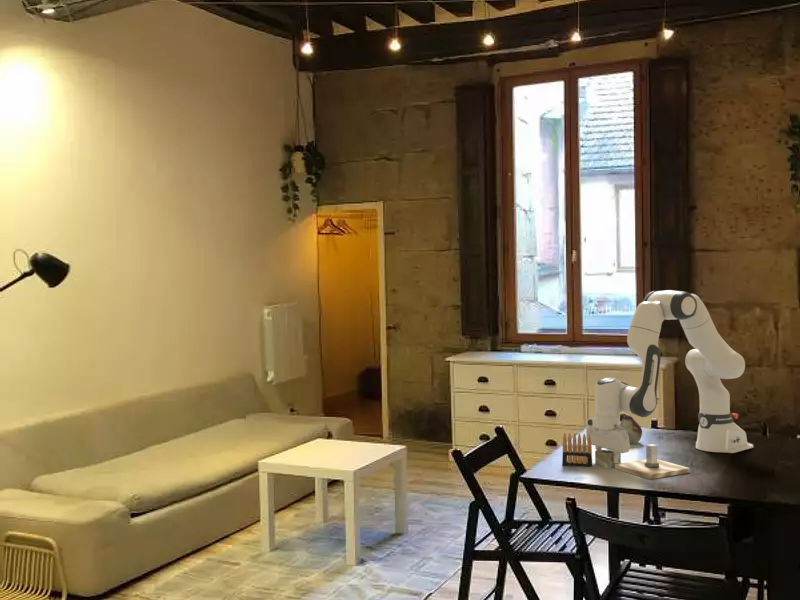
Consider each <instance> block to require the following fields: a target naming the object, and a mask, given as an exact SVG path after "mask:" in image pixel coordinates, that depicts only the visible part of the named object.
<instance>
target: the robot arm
mask: <svg viewBox="0 0 800 600" xmlns="http://www.w3.org/2000/svg"><path fill="white" fill-rule="evenodd" d="M665 320H668V321H670V320H678V321H679V323H680V326H681V327H682V330H683V331H684V335H685V337H686V339H687V341H688V343H689V344H690V345H691V346H692V347H693V349H690V350H689V351H688V352H687V353H686V355H685V359H684V360H685V361H684V362H685V363H684V364H685V366H686V369H687V370H688V371H689V372H690V373H691V375H692V376H693V378H694V381H695V383H696V386H697V390H698V396H699V397H698V398H699V412H698V422H699V424H698V429H697V437H696V442H695V448H696V449H697V450H700V451H704V452H710V453H711V452H712V453H726V454H727V453H728V454H734V453H735V454H736V453H739V452H742V451H746V450H749V449H753V448H754V444H753V443H750V442H748V439H747V437H748V436H747V432H746V431H745V430H744V429H743V428H741V427H740V426H739V425H737V424H736V423H735V422H734V419H736V420H737V419H738V413H734V412H732V413H731V409H730V408H731V401H730V400H731V399H730V398H731V395H730V392H729V391H728V389H727V388H726V387H725V386H724V384H723V382H722V380H723V379H724V380H730V379H731V380H732V379H737V378H739V377H741V376H742V375H743V374H744V372H745V369H746V362H745V359H744V357H743V356H742V355H741V354H740V353H738V352H737V351H735V350H734V349H733V348H732V347H730V345H729V344H727V342H726V341H725V340H724V339H723V337H722V336H721V334H720V333H719V332H718V331H717V328H716V326H715V324H714V321H713V319H712V317H711V315H710V312H709V310H708V309H707V307H706V305H705V304H704V302H703V300H702V299H701V298H700V297H699V296H698V295H697V294H695V293H690V292H688V291H683V290H672V289H667V290H653V291H650V292H648V293H647V294H646V295H645V297H644V298H643V300H642V302H640V303H639V304H638V305H637V307H636V309H635V311H634V313H633V316H632V318H631V321H630V325H629V328H628V332H627V339H626V342H627V346H628V347H629V349H630V350H631V351H632V352H633V353H634V354H635V355H637V356H638V357H639V359H640V360H641V364H642V367H641V374H640V382H639V386H638V387H636V386H633V385H632V386H631V385H628V384H625V383H622V382H621V381H620V380H618V378H615V377H605V378H600V379H599V380H597V382H596V383H595V384H596V385H595V389H594V405H595V413H594V417H591V418H587V419H586V420H585V424H586V425H587V426H586V429H585V432H586V433H585V436H586V443H587V442H588V435H589V434H590V437H591V446H595V448H594V449H595V451H598V450H603V449H604V450H605V449H609V450H612V451H614V454H615V455H614V457H613V458H612V462H613V463H618V458H619V456H620V454H625V453H628V452H630V450H631V443H629V436H628V432H627V430H626V429H625V427H622V426H620V423H621V414H620V413H621V412H625V413H629V414H633V415H635V416H637V417H641V418H646V417H649V416H651V415H652V414H653V413H654V411H656V408H657V405H658V397H657V396H658V395H657V392H658V383H659V382H658V381H659V375H660V366H661V358H662V357H661V349H660V348H659V340H660V339H659V338H660V333H661V330H662V324H663V322H664V321H665ZM721 379H722V380H721Z"/></svg>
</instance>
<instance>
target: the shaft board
mask: <svg viewBox="0 0 800 600" xmlns="http://www.w3.org/2000/svg"><path fill="white" fill-rule="evenodd" d="M645 446H646V447H645V449H646V450H645V451H646V455H645V456H646V458H644V459H639V460H633V461H632V460H631V461H628V462H621V463H619V464H615V467H614V469H616V470H619V471H622V472H625V473H629V474H632V475H636V476H639V477H642V478H643V479H644V478H645V479H647V480H654V479H655V480H656V479H660V478H666V477H671V476H676V475H682V474H687V473H688V474H689V473H691V472H690V471H691V469H690V467H687V466H683V465H680V464H676V463H672V462H670V461H666V460H661V459H658V445H657V444H653V443H651V444H650V443H649V444H646V445H645Z"/></svg>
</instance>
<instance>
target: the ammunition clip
mask: <svg viewBox="0 0 800 600" xmlns="http://www.w3.org/2000/svg"><path fill="white" fill-rule="evenodd" d="M567 436H568V438H567ZM592 446H593V445H591V437H590V434H589V435H588V442H587V439H586V433H583V434H582V436H581V434H580V433H578V436H577V435H576V433H573V436H572V435H571V433H568V435H567V434H566V432H564V433H563V436H562V457H561V458H562V459H561V460H562V462H561V463H562V466H563V467H577V468H579V467H580V468H593V451H592V450H593V449H592Z"/></svg>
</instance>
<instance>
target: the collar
mask: <svg viewBox="0 0 800 600" xmlns="http://www.w3.org/2000/svg"><path fill="white" fill-rule="evenodd" d="M621 454H622V453H621ZM621 454H620V456H619V458H618V463H613V462H612V458H613V457H614V455H615V454H614V451H612V450H609V449H605V448H604V449H602V450H598V451H596V450H595V451H594V456H595V460H594V461H595V462H594V463H595V466H599V467H601V468H606V469H610V468H615V464H619V463H622V461H621V460H622V459H621V456H622V455H621Z"/></svg>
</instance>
